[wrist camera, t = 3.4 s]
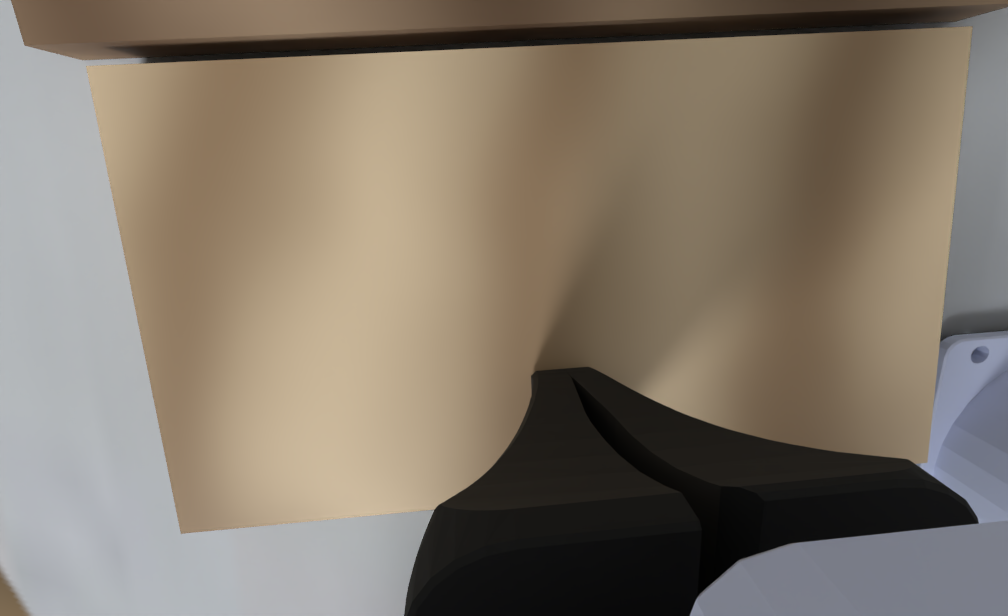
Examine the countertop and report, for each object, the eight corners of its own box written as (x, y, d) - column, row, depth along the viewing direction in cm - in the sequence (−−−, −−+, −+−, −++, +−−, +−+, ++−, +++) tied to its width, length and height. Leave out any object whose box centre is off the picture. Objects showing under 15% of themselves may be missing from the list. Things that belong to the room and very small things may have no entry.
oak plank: (911, 49, 12) (972, 26, 11) (878, 436, 14) (927, 462, 12) (136, 85, 11) (86, 66, 10) (213, 497, 13) (180, 533, 11)
